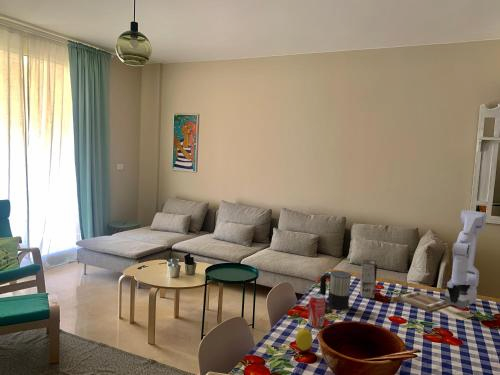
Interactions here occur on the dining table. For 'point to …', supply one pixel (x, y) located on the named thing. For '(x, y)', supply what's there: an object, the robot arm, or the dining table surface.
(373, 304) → the dining table surface
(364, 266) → the coffee box
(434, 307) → the square wooden tray
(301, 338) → the lemon
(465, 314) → the stand
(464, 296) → the housing
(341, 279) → the milk frother
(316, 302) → the soda can
